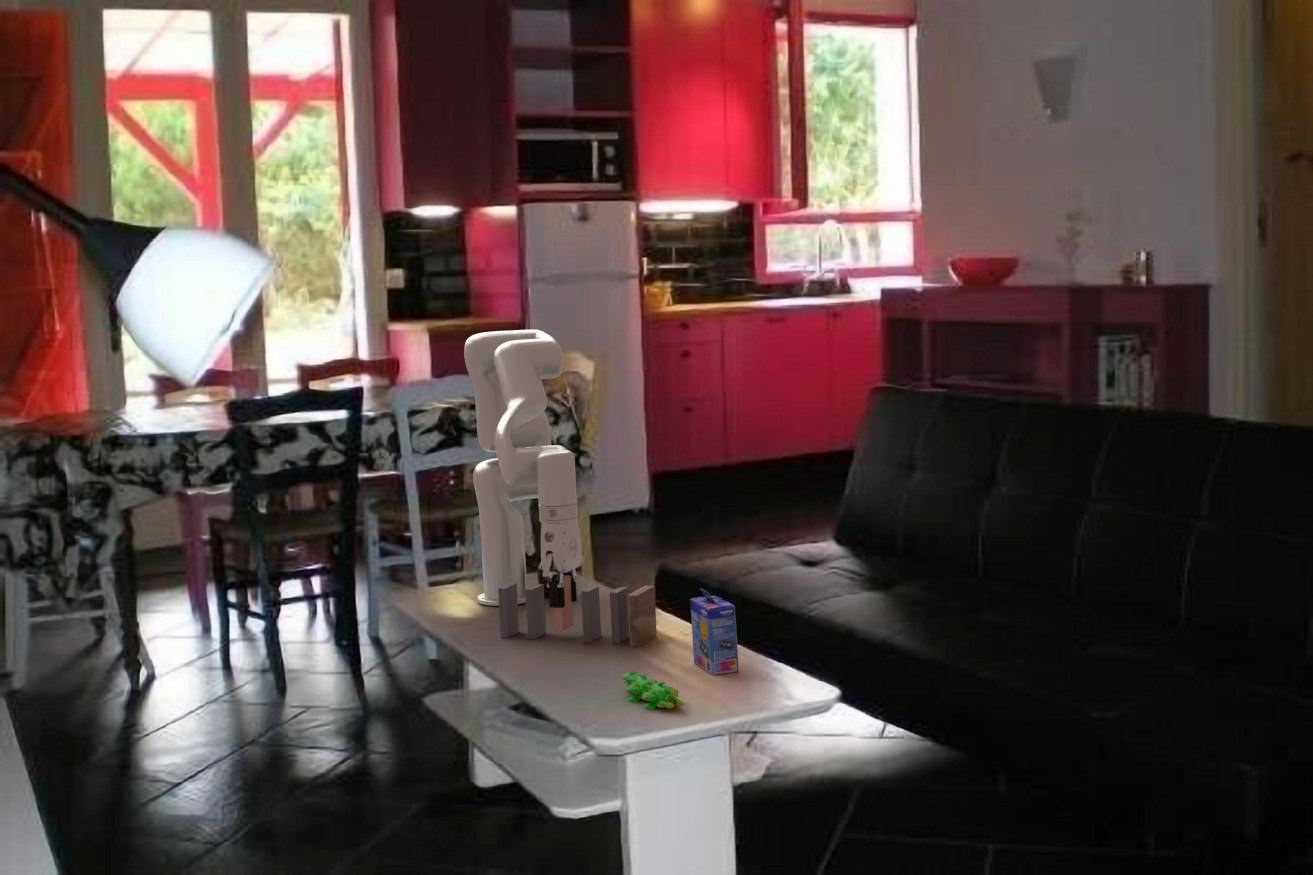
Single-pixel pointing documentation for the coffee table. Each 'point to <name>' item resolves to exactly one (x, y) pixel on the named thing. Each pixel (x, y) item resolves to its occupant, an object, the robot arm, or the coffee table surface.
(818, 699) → the coffee table surface
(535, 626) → the domino
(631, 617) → the end post
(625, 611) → the domino
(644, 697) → the green bumpy elongated piece
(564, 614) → the domino
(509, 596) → the domino
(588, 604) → the domino
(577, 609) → the coffee table surface
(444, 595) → the coffee table surface
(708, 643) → the ink cartridge box
